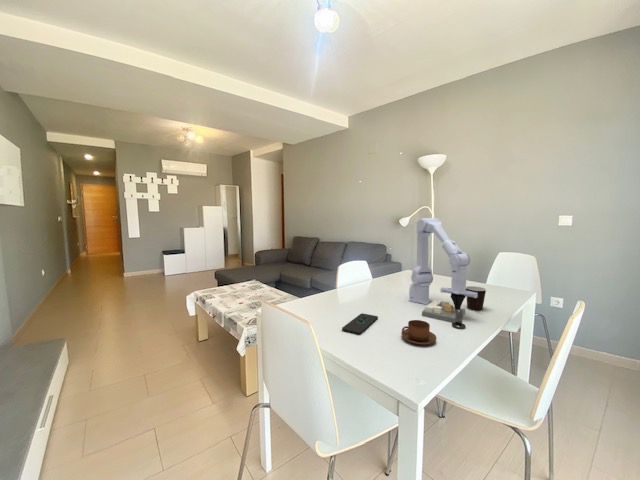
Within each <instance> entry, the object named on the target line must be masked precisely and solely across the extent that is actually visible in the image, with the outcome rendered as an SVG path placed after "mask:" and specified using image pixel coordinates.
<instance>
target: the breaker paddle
mask: <svg viewBox="0 0 640 480" xmlns="http://www.w3.org/2000/svg"><path fill="white" fill-rule="evenodd" d="M453 307H454V304H449V305H448V304H445V305H444V311H448V312H452V311H453Z"/></svg>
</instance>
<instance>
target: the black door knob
mask: <svg viewBox="0 0 640 480" xmlns="http://www.w3.org/2000/svg"><path fill="white" fill-rule="evenodd" d="M462 311H463V310H461V309H456V320H455V323H451V328H454V329H457V330H465V329H466V324H464V323H463V316H462Z"/></svg>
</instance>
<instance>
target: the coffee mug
mask: <svg viewBox="0 0 640 480" xmlns="http://www.w3.org/2000/svg"><path fill="white" fill-rule="evenodd" d="M466 290H467V291H471V292H476V293H477V298H474V297H469V296H466V297H465V298H466V306H467V307H466V309H468V310H469V311H473V310H474V312H481V310H482V311H483V309H484V308H483V307H484V303H485V297H486V292H487V288H484V287H481V286H476V285H475V286H473V285H470V286H469V285H466Z"/></svg>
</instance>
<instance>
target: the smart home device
mask: <svg viewBox="0 0 640 480" xmlns="http://www.w3.org/2000/svg"><path fill="white" fill-rule="evenodd" d="M378 320H379V316H378V315H373V314H368V313H364V312H363V313H359V314H358V315H357V316H356V317H355V318H353V319H352V320H350V321H349V322H348V323H346V324H345V325H344V326H343V327H342V328H341V332H344V333H346V334H347V333H348V334H352V335H357V336H361V335H362V334H364V332H366V331H367V330H368V329H369V328H370V327H371V326H373V324H374V323H376V322H377V321H378Z"/></svg>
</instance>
